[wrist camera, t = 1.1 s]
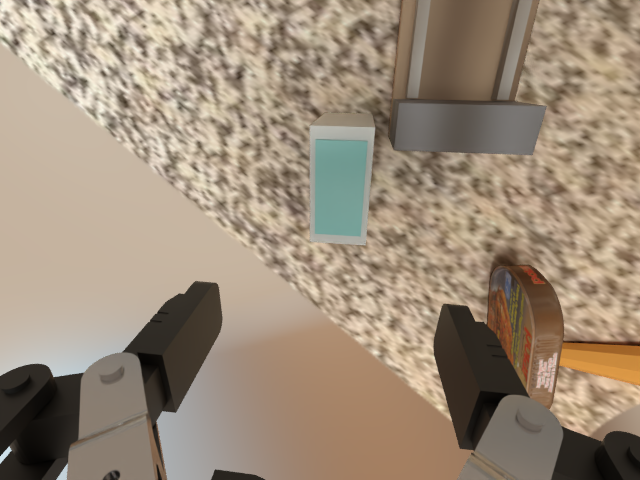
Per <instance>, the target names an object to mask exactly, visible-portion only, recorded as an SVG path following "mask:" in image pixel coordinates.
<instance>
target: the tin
mask: <svg viewBox="0 0 640 480" xmlns="http://www.w3.org/2000/svg"><path fill="white" fill-rule="evenodd" d="M487 326H488V327H489V328H490V329H491V330H492V331H493V332H494V333H495V334H496V335H497V337H498V339H499V341H500V343H501V345H502V348H504V350H505V352H506V354H507V356H508V359H510V361H511V363H512V365H513V367H514V369H515V371H516V372H517V374H518V376H519V378H520V380H521V382H522V384H523V385H524V387H525V389H526V391H527V393H528V395H529V397H530V398H531V399H533V400H535V401H537V402H539V403H540V404H542V405H543V406H545V407H546V408H547V409H550V407H551V405H552V403H553V398H554V393H555V387H556V381H557V375H558V369H559V363H560V357H561V351H562V344H563V338H564V321H563V314H562V310H561V306H560V303H559V300H558V297H557V295H556V293H555V291H554V289H553V287H552V286H551V284H550V283H549V282H548V281H547V280H546V279H545V278H544V276H543V275H542V274H541V273H540V272H539V271H538V270H537V269H535V268H534V267H532V266H530V265H514V266H498V267H497V268H495V269H494V271H493V273H492V275H491V279H490V287H489V305H488V323H487Z"/></svg>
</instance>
